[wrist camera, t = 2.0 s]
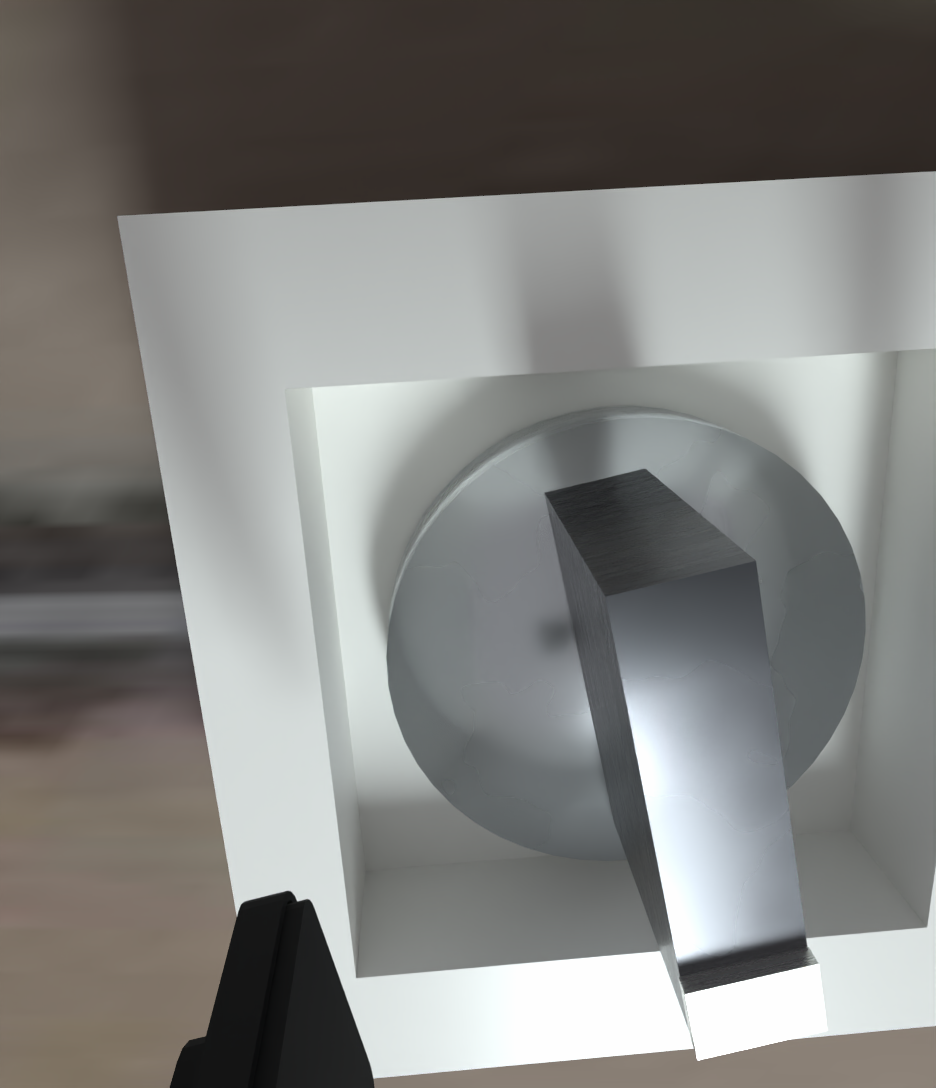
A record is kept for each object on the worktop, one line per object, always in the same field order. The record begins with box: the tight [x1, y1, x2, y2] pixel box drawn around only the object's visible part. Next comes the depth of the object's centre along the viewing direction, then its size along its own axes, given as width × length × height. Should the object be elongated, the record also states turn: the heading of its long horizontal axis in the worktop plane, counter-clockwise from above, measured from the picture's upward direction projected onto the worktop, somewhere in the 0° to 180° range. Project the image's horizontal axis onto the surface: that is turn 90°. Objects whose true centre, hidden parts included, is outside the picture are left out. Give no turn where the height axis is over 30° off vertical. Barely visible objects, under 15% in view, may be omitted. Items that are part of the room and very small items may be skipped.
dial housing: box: [117, 171, 936, 1078], centre depth 16 cm, size 15×16×5 cm
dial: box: [386, 406, 866, 1060], centre depth 14 cm, size 9×9×7 cm
